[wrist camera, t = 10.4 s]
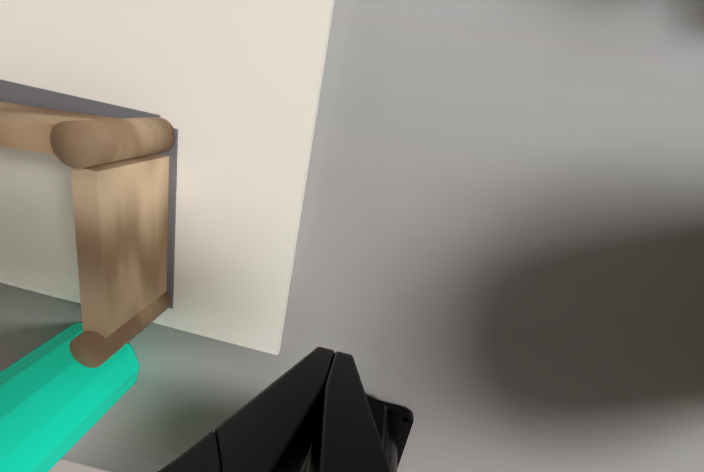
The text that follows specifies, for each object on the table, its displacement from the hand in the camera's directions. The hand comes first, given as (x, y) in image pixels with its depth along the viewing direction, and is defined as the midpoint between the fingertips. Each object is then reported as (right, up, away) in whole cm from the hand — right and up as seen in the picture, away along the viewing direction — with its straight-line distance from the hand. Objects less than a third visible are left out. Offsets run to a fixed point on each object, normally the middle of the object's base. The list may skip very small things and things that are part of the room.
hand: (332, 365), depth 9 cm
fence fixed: (-11, +4, +13) cm, 17 cm away
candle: (-17, -5, +18) cm, 25 cm away
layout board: (-13, +10, +11) cm, 20 cm away
